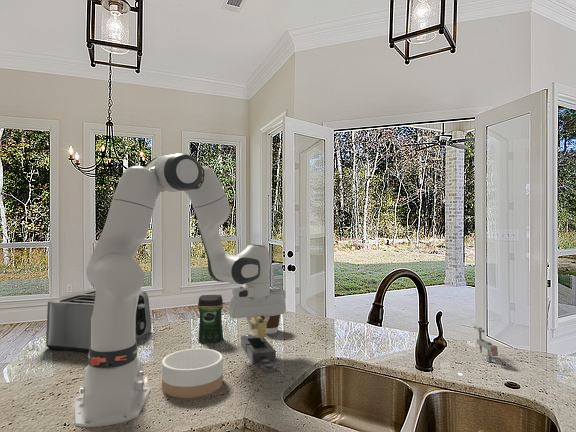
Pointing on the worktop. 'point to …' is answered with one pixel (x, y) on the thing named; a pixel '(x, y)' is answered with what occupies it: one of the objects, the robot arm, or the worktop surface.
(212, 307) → the coffee jar
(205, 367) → the bowl
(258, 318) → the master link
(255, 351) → the chain end near
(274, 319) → the coffee cup
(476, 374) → the worktop surface
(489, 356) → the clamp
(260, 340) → the chain end far
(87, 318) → the toaster
